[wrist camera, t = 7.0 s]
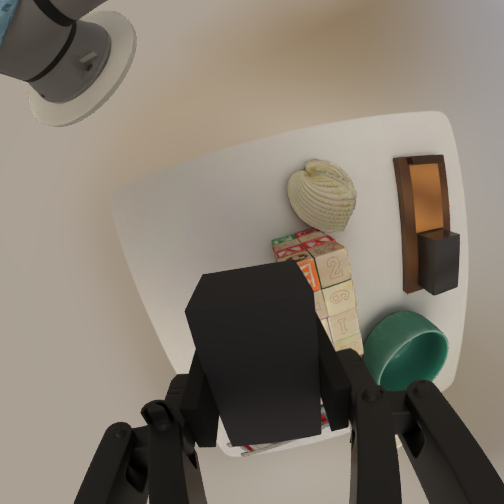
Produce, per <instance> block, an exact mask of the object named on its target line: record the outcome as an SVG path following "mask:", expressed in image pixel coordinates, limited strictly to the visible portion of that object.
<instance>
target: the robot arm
mask: <svg viewBox="0 0 504 504" xmlns="http://www.w3.org/2000/svg"><path fill="white" fill-rule="evenodd" d="M105 1H107V0H0V73H1V74H4V75H7V76H10V77H13V78H16V79H20V80H23V81H26V82H28V83H29V84H30V85H31V86H32V88H33V89H34V90H35V91H36V92H37V93H38V94H39V95H40V96H41V97H42V98H43V99H45V100H46V101H49V102H52V103H56V104H61V103H66V102H69V101H71V100H73V99H75V98H77V97H78V96H80V95H81V94H82V93H84V92H85V91H86V90H87V89H88V88H89V87H90V86H91V85H92V84H93V83H94V82H95V81H96V79H97V78H98V77H99V75H100V74H101V72H102V71H103V69H104V67H105V66H106V64H107V61H108V59H109V56H110V52H111V45H112V43H111V37H110V35H109V33H108V32H107V31H106V30H105V29H104V28H103V27H102V26H100V25H98V24H96V23H91V22H86V21H82V20H79V19H80V18H81V17H83V16H84V15H86V14H87V13H89V12H90V11H92V10H93V9H94V8H96V7H98V6H99V5H101V4H102V3H104V2H105ZM316 322H317V336H318V351H319V369H320V392H321V399H322V402H323V406H324V409H325V412H326V415H327V418H328V422H329V425H330V428H331V431H335V430H339V429H343V428H347V427H348V426H349V421H350V424H351V426H352V431H351V439H350V443H351V480H350V482H351V483H350V500H349V504H402V498H401V483H400V472H399V462H398V454H397V446H396V439H395V435H398V437H399V439H400V441H401V443H402V445H403V447H404V449H405V451H406V453H407V456H408V458H409V460H410V462H411V464H412V466H413V468H414V470H415V472H416V475H417V477H418V479H419V481H420V483H421V486H422V488H423V490H424V492H425V495H426V497H427V499H428V501H429V504H504V483H503V482H502V480H501V478H500V477H499V475H498V474H497V472H496V470H495V469H494V467H493V466H492V464H491V463H490V461H489V459H488V458H487V456H486V455H485V453H484V452H483V450H482V449H481V447H480V446H479V444H478V443H477V441H476V440H475V438H474V437H473V436H472V434H471V433H470V431H469V430H468V428H467V427H466V426H465V424H464V423H463V422H462V420H461V419H460V417H459V416H458V415H457V413H456V412H455V411H454V409H453V408H452V407H451V405H450V404H449V403H448V401H447V400H446V399H445V397H444V396H443V395H442V393H441V392H440V391H439V389H438V388H437V387H436V386H435V384H433V383H432V382H431V381H428V380H423V379H420V380H415V381H413V382H412V383H410V384H409V385H408V387H407V390H400V391H388V390H386V389H385V388H384V387H382V386H380V385H377V384H376V382H375V381H374V379H373V377H372V375H371V374H370V372H369V370H368V369H367V367H366V365H365V364H364V362H363V360H362V359H361V357H360V355H359V354H358V352H356V351H355V350H353V349H352V348H347V349H343V350H339V351H335V349H334V347H333V345H332V343H331V341H330V339H329V337H328V335H327V333H326V331H325V329H324V327H323V325H322V323H321V321H320V319H319V317H318V315H317V313H316ZM141 414H142V416H143V418H144V419H145V421H146V423H147V424H148V425H147V426H143V427H138V428H131V426H130V425H129V424H128V423H125V422H117V423H114V424H112V425H111V426H109V427H108V428H107V430H106V431H105V433H104V436H103V438H102V440H101V442H100V444H99V446H98V448H97V451H96V453H95V455H94V457H93V460H92V462H91V464H90V466H89V468H88V471H87V473H86V475H85V477H84V480H83V482H82V485H81V487H80V489H79V492H78V494H77V496H76V499H75V501H74V504H146V503H147V499H148V495H149V504H207V500H206V496H205V491H204V487H203V482H202V477H201V472H200V467H199V462H198V457H197V453H196V451H195V449H194V447H195V441H196V443H197V444H198V446H199V447H216V440H217V430H218V421H219V410H218V408H217V405H216V402H215V400H214V397H213V394H212V391H211V389H210V386H209V383H208V380H207V377H206V374H205V372H204V371H203V368H202V365H201V362H200V359H199V356H198V353H197V350H195V354H194V357H193V360H192V364H191V367H190V371H189V374H177V375H176V376H175V377H174V378H173V380H172V381H171V383H170V386H169V389H168V392H167V395H166V397H165V400H154V401H151V402H149V403H147V404H145V405H144V407H143V408H142V410H141Z"/></svg>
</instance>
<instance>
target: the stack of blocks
mask: <svg viewBox="0 0 504 504" xmlns="http://www.w3.org/2000/svg"><path fill="white" fill-rule="evenodd" d="M271 244H272V248H273V251H274V255H275V258H276V261H277V262H282V261H287V260H293V259H295V261H296V262H297V264H298V266H299V267H300V269H301V271H302V272H303V274H304V275H305V277H306V279H307V280H308V282H309V284H310V285H311V287H312V289H313V290H314V299H315V310H316V313H317V315H318V317H319V319H320V321H321V323H322V325H323V327H324V329H325V331H326V333H327V335H328V337H329V339H330V341H331V343H332V345H333V347H334V349H335V351H339V350H343V349H347V348H352V349H353V350H355V351H356V352H358V354H359V355H362V354H363V353H364V351H363V344H362V338H361V332H360V329H359V323H358V317H357V311H356V299H355V294H354V288H353V283H352V280H351V277H352V275H351V270H350V265H349V260H348V255H347V250H346V248H345V247H344V246H342V245H341V244H339V243H337V242H336V241H335V239H333V238H332V237H330V236H328V235H326V234H324V233H323V232H321V231H320V230H318V229H316V228H310V229H307V230H304V231H301V232H297V233H294V234H292V235H289V236H285V237H282V238H279V239H275V240H272V241H271ZM321 404H323V402H322V399H321Z"/></svg>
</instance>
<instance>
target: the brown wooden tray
mask: <svg viewBox="0 0 504 504" xmlns="http://www.w3.org/2000/svg"><path fill="white" fill-rule="evenodd" d="M393 162H394V168H395V174H396V181H397V189H398V197H399V206H400V217H401V230H402V247H403V291H405V292H406V293H407V294H409V293H412V292H415V291H418V290H421V289H425V290H426V291H428V292H429V293H431V294H432V295H433V296H434V295H437V294H440V293H443V292H445V291H448V290H451V289H453V288H456V287H457V286H458V273H459V252H460V234H457V233H454V232H451V231H450V213H449V198H448V187H447V178H446V170H445V162H444V156H443V155H427V156H411V157H400V158H393Z"/></svg>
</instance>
